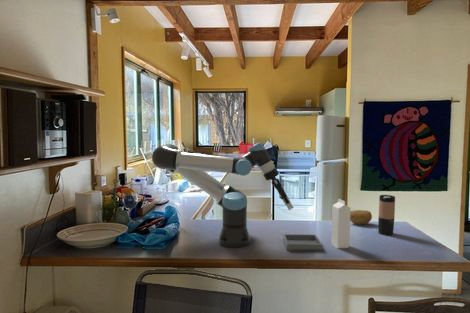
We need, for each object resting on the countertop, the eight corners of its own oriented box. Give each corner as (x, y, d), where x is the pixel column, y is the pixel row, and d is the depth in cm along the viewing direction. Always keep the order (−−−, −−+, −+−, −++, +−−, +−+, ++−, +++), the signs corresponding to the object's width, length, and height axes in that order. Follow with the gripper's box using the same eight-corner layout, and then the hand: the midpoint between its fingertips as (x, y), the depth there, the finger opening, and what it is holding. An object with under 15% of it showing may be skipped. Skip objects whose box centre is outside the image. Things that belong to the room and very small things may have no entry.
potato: (344, 221, 193) (344, 208, 193) (368, 221, 193) (368, 208, 192) (349, 226, 183) (349, 212, 183) (374, 226, 183) (375, 212, 182)
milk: (337, 248, 148) (338, 201, 146) (331, 244, 154) (332, 198, 152) (349, 247, 149) (350, 201, 148) (342, 243, 155) (344, 198, 153)
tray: (286, 250, 145) (287, 244, 145) (283, 240, 159) (283, 234, 159) (322, 251, 145) (322, 244, 145) (315, 240, 159) (315, 234, 159)
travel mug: (390, 231, 174) (392, 195, 173) (396, 235, 167) (397, 197, 165) (375, 230, 175) (377, 194, 173) (380, 235, 167) (382, 197, 166)
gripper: (277, 168, 153) (299, 207, 153) (273, 165, 178) (292, 199, 178) (264, 176, 154) (286, 215, 154) (261, 172, 178) (280, 205, 179)
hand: (289, 206), depth 166 cm, fingers open, 13 cm apart
